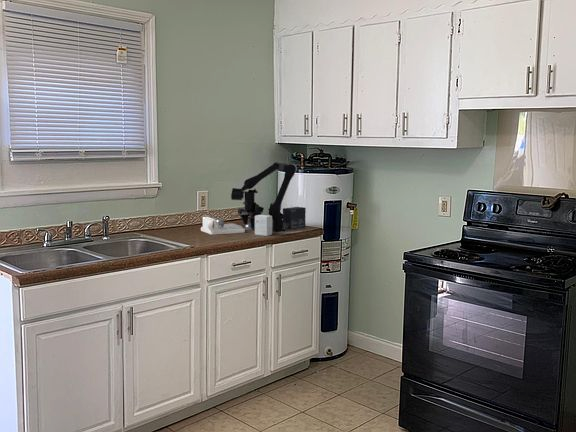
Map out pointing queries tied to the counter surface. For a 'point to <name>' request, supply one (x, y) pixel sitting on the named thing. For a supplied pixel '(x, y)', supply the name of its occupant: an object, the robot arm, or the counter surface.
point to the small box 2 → (294, 217)
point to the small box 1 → (263, 225)
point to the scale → (212, 227)
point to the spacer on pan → (220, 222)
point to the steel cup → (248, 227)
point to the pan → (229, 226)
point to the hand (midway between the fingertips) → (249, 227)
